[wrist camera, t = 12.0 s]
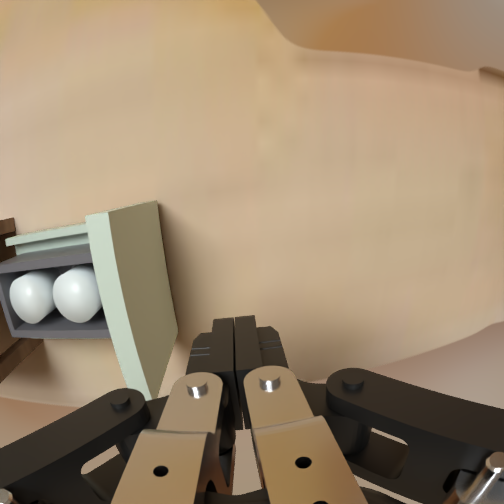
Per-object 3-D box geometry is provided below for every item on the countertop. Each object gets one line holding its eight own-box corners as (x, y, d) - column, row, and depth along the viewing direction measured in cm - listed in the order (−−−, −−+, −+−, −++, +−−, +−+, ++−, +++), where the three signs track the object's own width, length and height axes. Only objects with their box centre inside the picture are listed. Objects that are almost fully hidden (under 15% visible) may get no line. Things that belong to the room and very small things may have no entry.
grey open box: (39, 315, 22) (12, 337, 17) (23, 252, 21) (-9, 266, 16) (138, 310, 22) (120, 337, 18) (124, 238, 21) (100, 251, 17)
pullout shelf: (45, 335, 23) (-10, 389, 14) (18, 225, 21) (-56, 247, 12) (178, 331, 24) (154, 406, 15) (156, 200, 22) (107, 212, 12)
